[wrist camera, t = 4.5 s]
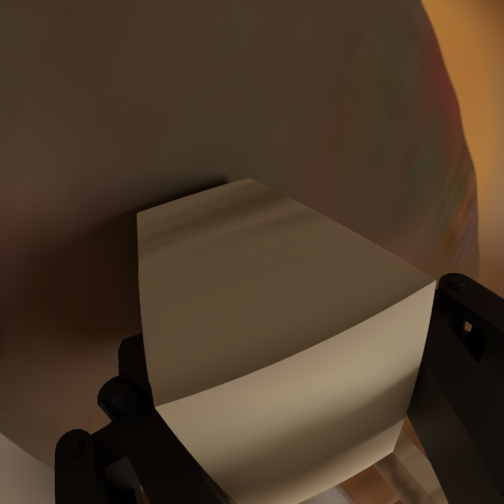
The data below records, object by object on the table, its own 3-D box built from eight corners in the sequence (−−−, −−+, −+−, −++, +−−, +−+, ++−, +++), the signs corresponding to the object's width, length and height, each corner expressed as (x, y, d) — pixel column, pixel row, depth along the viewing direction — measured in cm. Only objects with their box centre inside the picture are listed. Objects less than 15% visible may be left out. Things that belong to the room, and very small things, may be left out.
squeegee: (83, 233, 12) (22, 437, 3) (299, 164, 14) (498, 238, 5) (207, 453, 20) (252, 564, 12) (325, 404, 22) (395, 497, 14)
